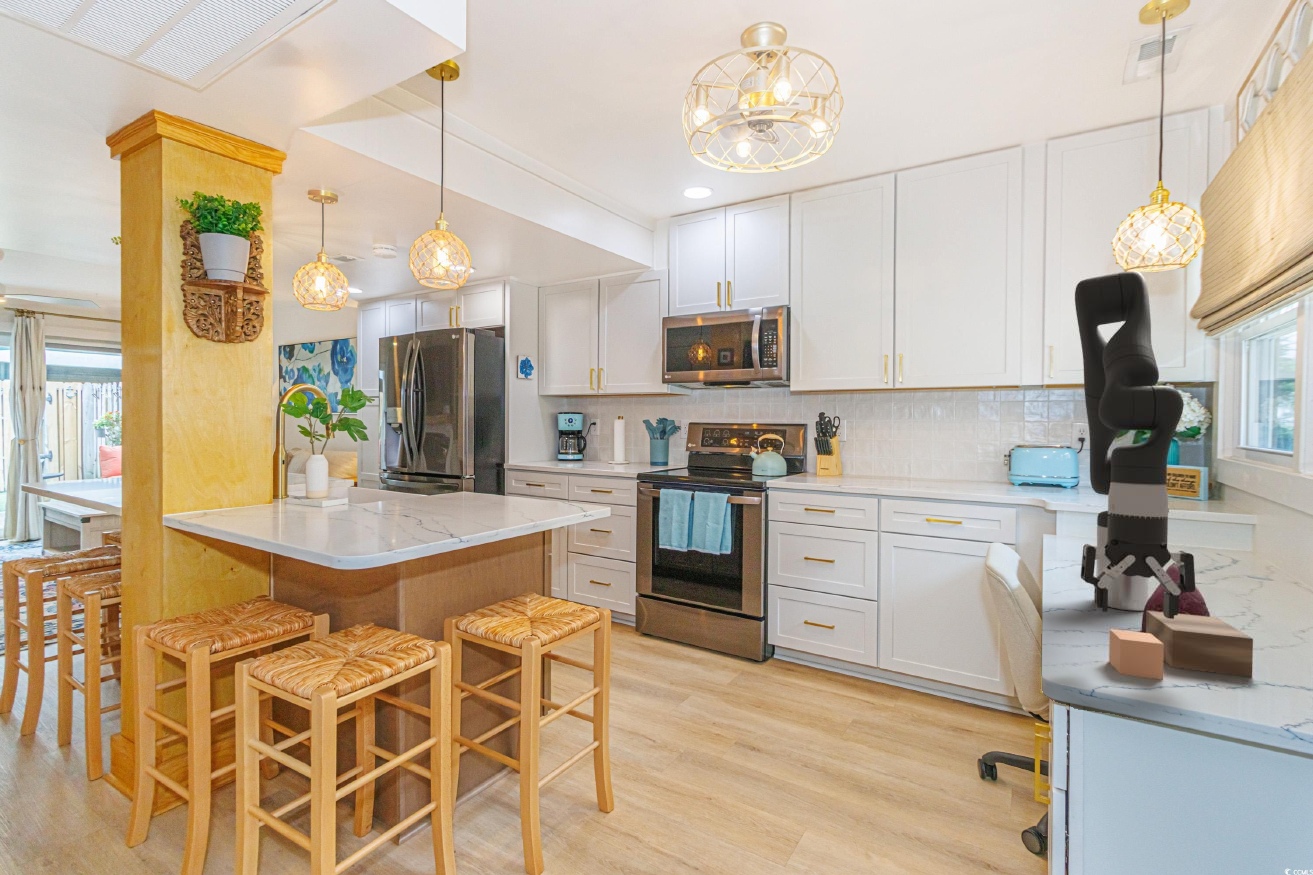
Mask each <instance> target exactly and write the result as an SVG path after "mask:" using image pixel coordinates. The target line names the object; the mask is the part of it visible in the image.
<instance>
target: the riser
mask: <svg viewBox="0 0 1313 875" xmlns="http://www.w3.org/2000/svg"><path fill="white" fill-rule="evenodd" d="M1146 633H1150V634H1152V635H1153V636H1154V637H1156V638H1157V639H1158V640H1159V641H1161V642H1162V643H1163V644H1164V660H1163V662H1166V663H1167V664H1168V665H1169V666H1170V667H1171V668H1175V669H1176V668H1177V669H1182V668H1184V670H1190V669H1192V671H1193V670H1194V671H1198V670H1199V671H1200V672H1206V671H1210V672H1209V673H1214V672H1216V674H1217V673H1218V674H1223V675H1231V676H1240V677H1246V678H1247V677H1248V678H1253V658H1254V657H1253V656H1254V655H1253V654H1254V653H1253V651H1254V648H1253V647H1254V646H1253V645H1254V639H1253V637H1251V636H1249V635H1248V634H1246V633H1244V632H1242V631H1240V630H1239V629H1238V628H1236V627H1234V626H1232V625H1230V624H1229V623H1227V622H1225V621H1224V620H1222V619H1220V618H1219V617H1217V616H1216V617H1215V616H1210V617H1206V616H1196V615H1186V614H1178V615H1174V619H1169V618H1166V617H1165V616H1164V614H1163V612H1156V611H1146ZM1199 671H1198V672H1199Z"/></svg>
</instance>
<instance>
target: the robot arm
mask: <svg viewBox="0 0 1313 875" xmlns="http://www.w3.org/2000/svg"><path fill="white" fill-rule="evenodd" d="M1074 289H1075V290H1074V305H1075V312H1076V313H1075V314H1076V320H1077V326H1078V332H1079V338H1080V346H1081V351H1082V362H1083V384H1084V385H1083V388H1084V400H1085V409H1086V415H1087V425H1088V432H1089V434H1088V435H1089V477H1090V478H1089V480H1090V485H1091V488H1092V490H1093V492H1095V493H1096V494H1098V495H1102V496H1103V495H1105V496H1108V498H1107V510H1104V511H1101V512H1099V513H1098V514H1097V517H1096V522H1097V523H1096V546H1095V545H1091V544H1088V543H1085V544H1084V545H1083V547H1082V555H1081V568H1080V579H1081V580H1083V581H1084V582H1085V583H1087V584H1090V585H1093V588H1094V592H1093V593H1094V595H1093V597H1094V600H1093V602H1094V605H1095V606H1096V608H1098V609H1099V611H1100V612H1102V613H1103V612H1104V613H1108V608H1112V609H1113V608H1114V609H1118V610H1123V611H1124V610H1126V611H1144V607H1145V605H1146V603H1147V601H1148V599H1149V592H1150V591H1149V587H1150V586H1149V584H1150V581H1149V578H1152V577H1154V579H1156V581H1157V582H1159V584H1160V583H1161V585H1162V586H1163V587H1164V588H1165V589H1166V592H1164V605H1163V614H1164V616H1165V617H1166V618H1169V619H1174V615H1178V613H1179V596H1180V595H1181V594H1182V593H1186V592H1194V591H1195V586H1196V577H1195V576H1196V575H1195V574H1196V573H1195V572H1196V571H1195V558H1194V555H1193V554H1192V553H1190V552H1187V551H1185V550H1179V551H1177V552H1176V551H1169V549H1168V535H1169V534H1168V532H1169V531H1168V530H1169V528H1168V526H1169V511H1170V507H1169V497H1168V496H1169V495H1168V490H1167V488H1168V487H1167V486H1168V485H1167V483H1168V482H1167V478H1168V477H1167V476H1168V474H1167V472H1168V456H1169V452H1170V448H1171V444H1172V441H1173V438H1174V435H1175V432H1176V430H1177V428H1178V425H1179V423H1180V421H1181V418H1182V415H1183V412H1184V408H1185V407H1184V399H1183V397H1182V395H1181V393H1180V392H1179V391H1178V390H1177V389H1176V388H1174V387H1172V386H1171V385H1170V386H1169V385H1157V383H1158V382H1159V378H1160V372H1159V368H1158V365H1157V360H1156V356H1155V353H1154V350H1153V346H1152V345H1153V344H1152V324H1151V323H1152V322H1151V321H1152V319H1151V310H1150V309H1151V308H1150V307H1151V306H1150V297H1149V290H1148V285H1147V281H1146V279H1145V277H1144V275H1143V274H1142V273H1141V272H1140V271H1136V270H1127V271H1122V272H1121V271H1120V272H1118V273H1116V272H1115V273H1112V274H1106V275H1101V276H1096V277H1089V278H1085V279H1083V280H1082V279H1081V280H1080V281H1079V282H1078V283H1077V285H1076V286H1075V288H1074ZM1121 322H1124V323H1123V324H1122V325H1121V326H1120V327H1119V328H1118V330H1117V331H1116V332H1115V333H1114V334H1113V335H1112V337H1110V338H1109V340H1108V341H1106V340H1105V338H1104V337H1103V336H1104V335H1102V334H1101V331H1100V329H1099V326H1102V325H1108V324H1117V323H1121ZM1122 431H1150V435H1149V436H1148V437H1147V439H1145V440H1144V441H1142V442H1139V443H1134V444H1127V445H1120V446H1117V447H1115V448H1114V449H1113V450H1112V452H1111V453H1109V450H1110V447H1111V445H1112V444H1113V443H1114V441H1115V439H1116V438H1117V437H1118V436H1119V435H1120V433H1121V432H1122ZM1171 560H1172V561H1173V563H1174V564H1175V565H1177V566H1178V570H1179V583H1176V584H1175V583H1174V582H1173V581H1172V579H1171V578H1170V577H1169V575H1168V574H1167V573H1166V570H1164V567H1165V566H1166V565H1167V564H1168V563H1169V562H1170V561H1171ZM1095 564H1096V568H1095ZM1095 569H1096V576H1094V575H1095Z"/></svg>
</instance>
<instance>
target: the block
mask: <svg viewBox="0 0 1313 875" xmlns="http://www.w3.org/2000/svg"><path fill="white" fill-rule="evenodd" d="M1108 639H1109V645H1108V646H1109V647H1108V652H1109V653H1108V662H1109V664H1110V665H1112V667H1113V668H1114V670H1116V671H1117V673H1118V674H1119V675H1126V676H1134V677H1141V678H1149V679H1155V678H1156V679H1155V680H1164V644H1163V643H1162V642H1161V641H1159V640H1158V639H1157V638H1156V637H1154V636H1153V635H1152V634H1150V633H1144V632H1142V631H1140V632H1139V631H1131V630H1123V629H1122V630H1121V629H1112V628H1109V638H1108ZM1157 678H1158V679H1157Z"/></svg>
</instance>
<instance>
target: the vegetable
mask: <svg viewBox="0 0 1313 875" xmlns="http://www.w3.org/2000/svg"><path fill="white" fill-rule="evenodd" d="M1165 572H1166V573H1167V574H1168V575H1169V577H1170V578H1171V579H1172V581H1173V582H1174V583H1175V584H1176V583H1179V570H1178V566H1177V565H1175V564H1174V562H1173V563H1171V564H1170V565H1169V566H1168V567H1167V568H1166V570H1165ZM1164 592H1166V589H1165V588H1164V587H1163V586H1162V585H1161V583H1160V582H1159V585H1158V586H1156V589H1155V590H1153V593H1152V594H1151V595H1150V596H1149V597H1148V601H1147V603H1146V605H1145V607H1144V610H1142V616H1141V618H1142V619H1141V632H1142V633H1146V611H1156V612H1163V605H1164ZM1178 614H1186V615H1196V616H1206V617H1211V614H1210V612H1209V608H1208V607H1207V604H1206V601H1205V598H1204V597H1203V595H1202V594H1201V592H1200V590H1199V589H1198V588H1197V586H1196V585H1195V591H1194V592H1186V593H1182V594H1181V595H1180V596H1179V613H1178Z"/></svg>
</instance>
